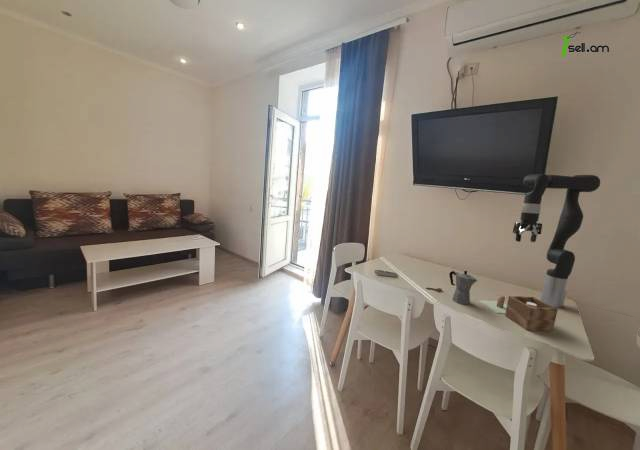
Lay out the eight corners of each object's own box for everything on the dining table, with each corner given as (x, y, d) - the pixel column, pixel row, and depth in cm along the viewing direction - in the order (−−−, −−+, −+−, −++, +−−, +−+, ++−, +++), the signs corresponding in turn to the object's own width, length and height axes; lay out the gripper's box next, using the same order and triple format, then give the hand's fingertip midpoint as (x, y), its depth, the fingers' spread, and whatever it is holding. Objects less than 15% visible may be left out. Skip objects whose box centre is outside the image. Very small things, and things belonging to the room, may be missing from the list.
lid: (502, 303, 148) (504, 291, 147) (521, 315, 134) (524, 303, 133) (478, 302, 147) (480, 290, 146) (496, 314, 134) (499, 301, 132)
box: (528, 316, 132) (533, 296, 130) (552, 331, 119) (557, 309, 117) (504, 315, 131) (508, 295, 129) (526, 330, 118) (531, 308, 117)
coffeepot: (477, 304, 143) (482, 273, 140) (468, 307, 138) (473, 276, 135) (450, 293, 155) (455, 265, 153) (441, 296, 150) (446, 267, 147)
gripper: (536, 211, 141) (531, 240, 143) (512, 210, 139) (507, 239, 142) (549, 213, 133) (543, 243, 136) (524, 212, 132) (518, 242, 135)
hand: (525, 241), depth 139 cm, fingers open, 8 cm apart
